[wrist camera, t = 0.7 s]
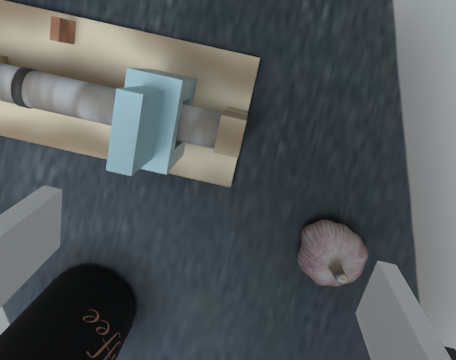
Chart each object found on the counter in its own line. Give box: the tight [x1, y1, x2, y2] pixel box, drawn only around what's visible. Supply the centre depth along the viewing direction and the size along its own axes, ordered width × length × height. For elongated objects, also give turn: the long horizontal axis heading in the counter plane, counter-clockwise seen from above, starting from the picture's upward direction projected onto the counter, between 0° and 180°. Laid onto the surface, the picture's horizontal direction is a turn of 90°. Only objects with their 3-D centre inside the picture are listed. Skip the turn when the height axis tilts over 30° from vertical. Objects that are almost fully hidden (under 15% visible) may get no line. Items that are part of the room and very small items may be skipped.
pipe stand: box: [0, 0, 260, 187], centre depth 33 cm, size 13×26×10 cm, turn 78°
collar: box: [106, 68, 197, 176], centre depth 28 cm, size 7×4×12 cm, turn 168°
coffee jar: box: [0, 267, 135, 360], centre depth 36 cm, size 11×11×18 cm
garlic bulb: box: [298, 220, 368, 286], centre depth 37 cm, size 8×7×8 cm
